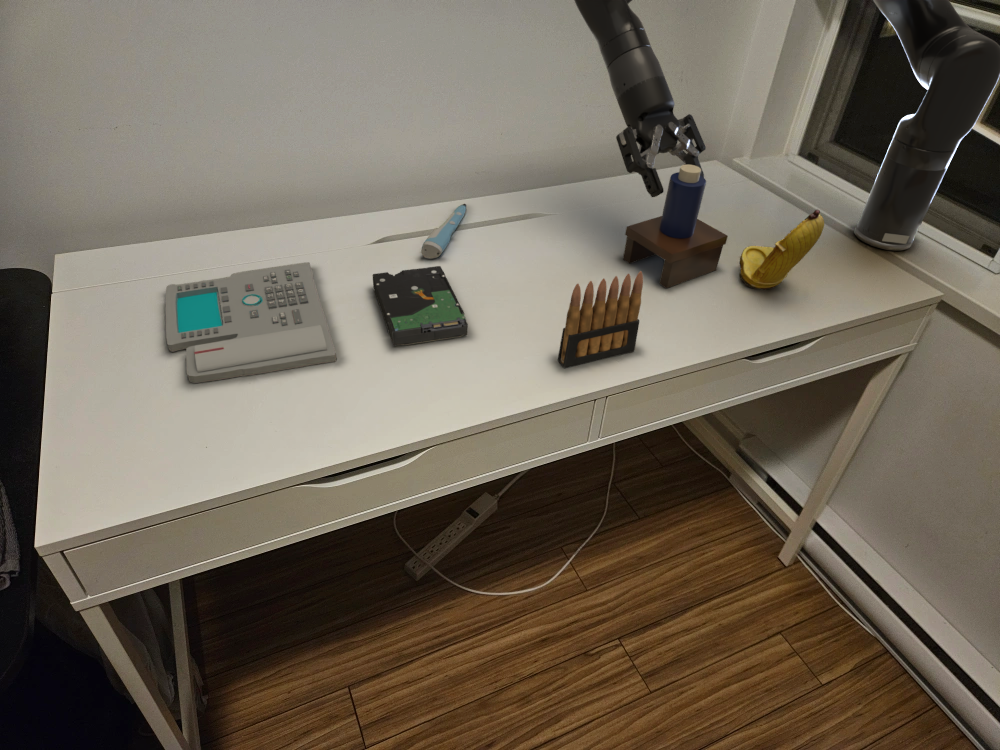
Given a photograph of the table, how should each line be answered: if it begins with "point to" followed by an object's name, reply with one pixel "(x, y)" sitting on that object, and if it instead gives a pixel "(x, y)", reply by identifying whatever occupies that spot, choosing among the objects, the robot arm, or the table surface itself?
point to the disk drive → (419, 306)
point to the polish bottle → (682, 202)
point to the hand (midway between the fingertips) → (678, 189)
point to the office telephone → (248, 323)
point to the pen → (442, 234)
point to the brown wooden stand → (675, 250)
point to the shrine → (779, 254)
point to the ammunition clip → (601, 322)
